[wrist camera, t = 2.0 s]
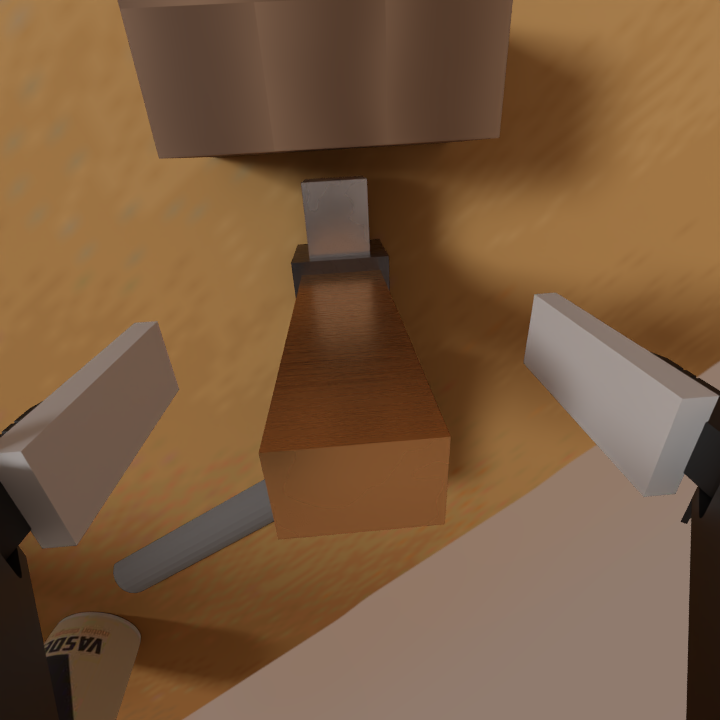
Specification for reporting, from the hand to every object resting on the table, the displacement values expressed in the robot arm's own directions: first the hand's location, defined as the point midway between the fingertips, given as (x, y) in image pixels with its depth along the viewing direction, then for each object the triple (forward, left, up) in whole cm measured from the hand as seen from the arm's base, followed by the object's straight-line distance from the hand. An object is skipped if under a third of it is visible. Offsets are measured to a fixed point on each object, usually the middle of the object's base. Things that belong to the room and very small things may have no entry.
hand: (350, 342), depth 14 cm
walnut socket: (0, +9, -10) cm, 13 cm away
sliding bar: (0, -5, -9) cm, 10 cm away
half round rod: (-12, -21, -11) cm, 26 cm away
